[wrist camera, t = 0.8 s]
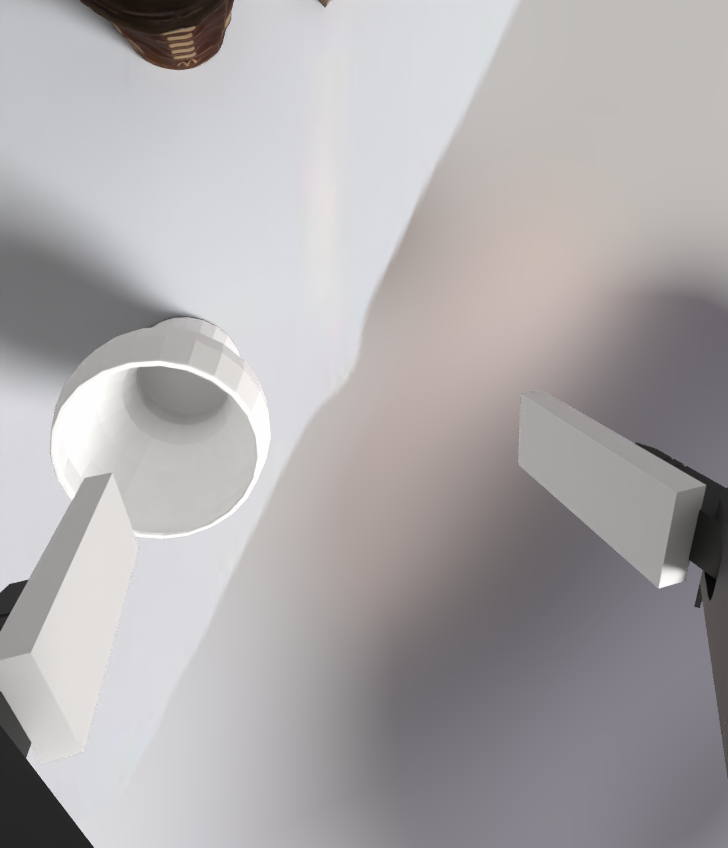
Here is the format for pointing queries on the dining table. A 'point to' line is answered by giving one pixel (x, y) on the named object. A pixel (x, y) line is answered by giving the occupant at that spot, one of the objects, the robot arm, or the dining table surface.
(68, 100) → the dining table surface
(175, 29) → the coffee cup
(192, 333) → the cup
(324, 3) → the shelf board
